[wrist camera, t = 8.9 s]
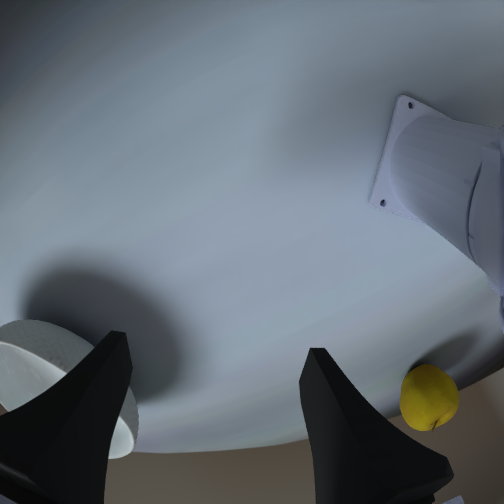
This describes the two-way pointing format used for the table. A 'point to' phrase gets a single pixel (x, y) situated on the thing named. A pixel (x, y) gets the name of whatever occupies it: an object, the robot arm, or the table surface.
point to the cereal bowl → (52, 371)
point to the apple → (428, 397)
